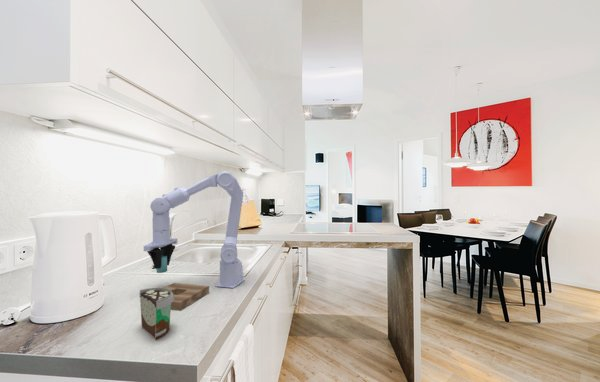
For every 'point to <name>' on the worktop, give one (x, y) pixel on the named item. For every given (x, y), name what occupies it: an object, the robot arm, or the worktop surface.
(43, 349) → the worktop surface
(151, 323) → the food container
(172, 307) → the walnut collar plate
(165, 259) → the teal peg
